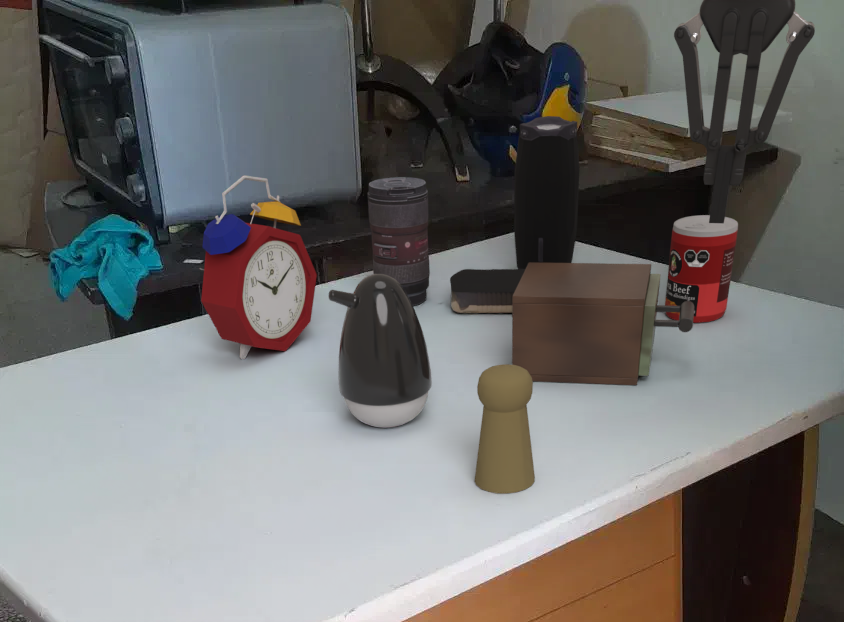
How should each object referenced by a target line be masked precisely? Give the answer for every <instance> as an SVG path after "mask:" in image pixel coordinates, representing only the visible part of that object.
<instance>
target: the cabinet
mask: <svg viewBox="0 0 844 622" xmlns="http://www.w3.org/2000/svg"><path fill="white" fill-rule="evenodd" d="M651 272H652V264H651V263H601V262H599V263H597V262H593V263H592V262H589V263H588V262H572V263H531V262H529V263H528V265H527V267H526V269H525V272H524V274H523V276H522V278H521V280H520V282H519V284H518V286H517V288H516V290H515V292H514V294H513V307H512V313H511V315H512V317H511V318H512V321H511V322H512V324H511V327H512V328H511V333H512V334H511V365H517V366H520V367H522V368H524V369H526V370H527V371H528V372H529V374H530V376H531V377H532V382H541V383H543V382H544V383H566V384H567V383H569V384H595V385H596V384H597V385H618V386H619V385H620V386H621V385H622V386H624V385H625V386H637V385H638V381H639V375H638V371H639V360H640V349H641V338H642V327H643V316H644V305H645V300H646V295H647V289H648V284H649V279H650V274H652V273H651Z"/></svg>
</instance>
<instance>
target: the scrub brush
mask: <svg viewBox="0 0 844 622" xmlns="http://www.w3.org/2000/svg"><path fill="white" fill-rule="evenodd" d="M524 272H525V269H518V268H501V269H500V268H496V269H495V268H492V269H480V268H479V269H478V268H477V269H474V268H464V269H461V270H459V271H457V272H455V273H454V274H453V275H452V276H450V277H449V283H450V294H451V297H450V306H451V309H452V310H453V311H454V312H455V313H457V314H498V313H499V314H512V307H513V294H514V292H515V290H516V288H517V286H518V284H519V282H520V280H521V278H522V276H523V274H524Z"/></svg>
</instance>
